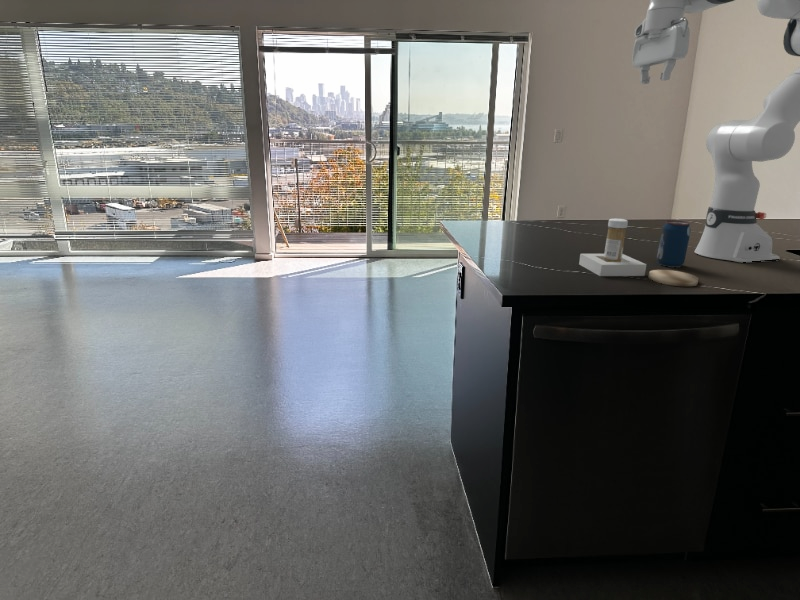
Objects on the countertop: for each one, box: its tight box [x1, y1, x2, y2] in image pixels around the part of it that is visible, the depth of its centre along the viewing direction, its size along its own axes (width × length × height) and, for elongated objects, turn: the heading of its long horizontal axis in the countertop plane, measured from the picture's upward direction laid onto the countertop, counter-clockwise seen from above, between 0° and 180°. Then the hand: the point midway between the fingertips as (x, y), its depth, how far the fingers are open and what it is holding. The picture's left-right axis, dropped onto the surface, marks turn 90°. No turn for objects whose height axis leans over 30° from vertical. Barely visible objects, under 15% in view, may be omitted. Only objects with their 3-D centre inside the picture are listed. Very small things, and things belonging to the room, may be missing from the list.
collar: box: [578, 253, 647, 277], centre depth 134 cm, size 12×12×3 cm
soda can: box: [656, 220, 692, 268], centre depth 140 cm, size 7×7×12 cm
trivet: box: [647, 269, 699, 287], centre depth 126 cm, size 11×11×1 cm
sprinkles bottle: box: [603, 218, 629, 262], centre depth 132 cm, size 5×5×13 cm
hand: (654, 82), depth 136 cm, fingers open, 8 cm apart
